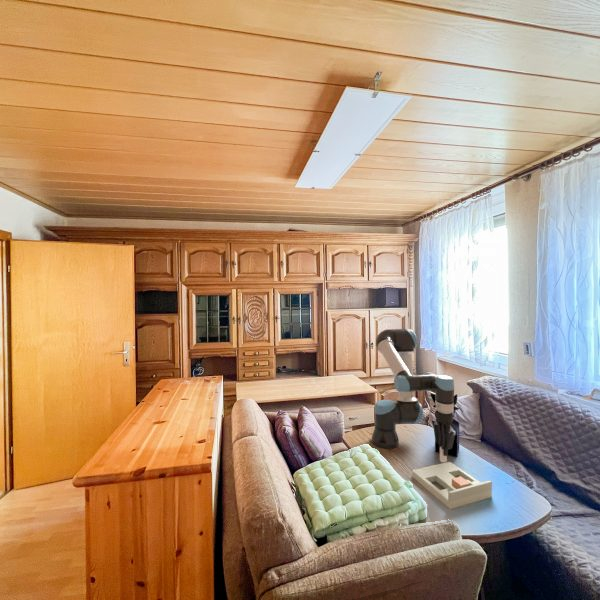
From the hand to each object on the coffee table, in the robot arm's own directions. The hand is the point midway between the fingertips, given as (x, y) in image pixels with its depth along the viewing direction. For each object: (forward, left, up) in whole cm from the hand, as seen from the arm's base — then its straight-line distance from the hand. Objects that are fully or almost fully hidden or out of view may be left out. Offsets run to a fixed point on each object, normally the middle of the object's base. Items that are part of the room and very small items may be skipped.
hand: (443, 460), depth 142 cm
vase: (-21, +22, -10) cm, 32 cm away
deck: (+4, 0, -9) cm, 10 cm away
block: (+10, 0, -6) cm, 12 cm away
